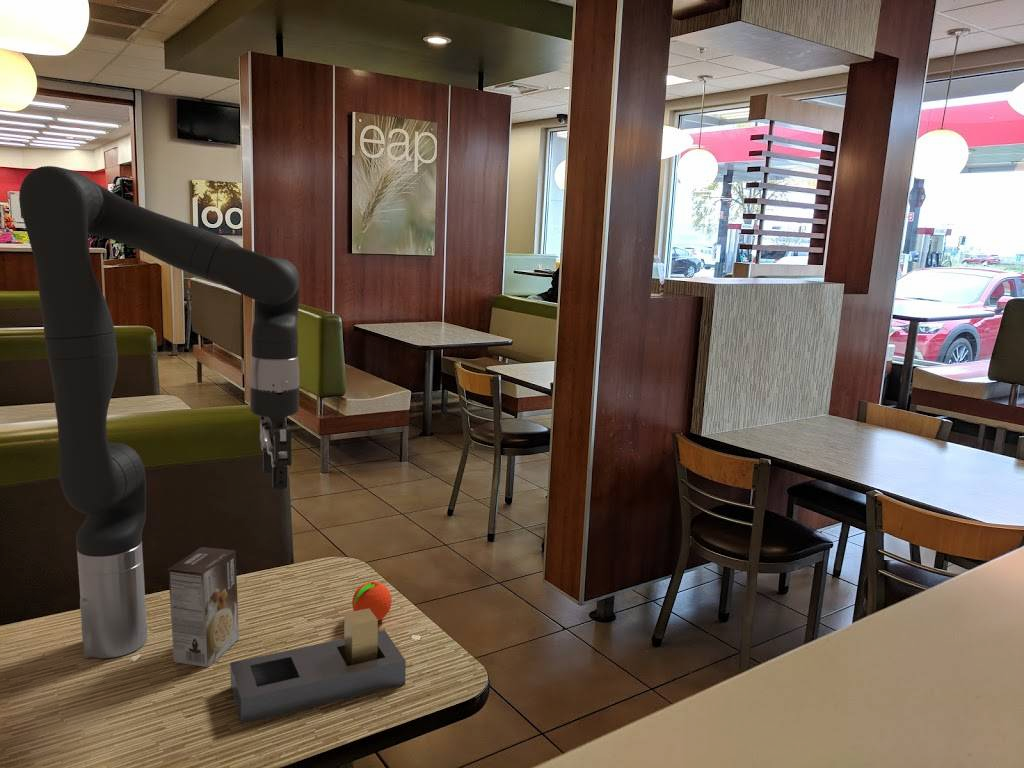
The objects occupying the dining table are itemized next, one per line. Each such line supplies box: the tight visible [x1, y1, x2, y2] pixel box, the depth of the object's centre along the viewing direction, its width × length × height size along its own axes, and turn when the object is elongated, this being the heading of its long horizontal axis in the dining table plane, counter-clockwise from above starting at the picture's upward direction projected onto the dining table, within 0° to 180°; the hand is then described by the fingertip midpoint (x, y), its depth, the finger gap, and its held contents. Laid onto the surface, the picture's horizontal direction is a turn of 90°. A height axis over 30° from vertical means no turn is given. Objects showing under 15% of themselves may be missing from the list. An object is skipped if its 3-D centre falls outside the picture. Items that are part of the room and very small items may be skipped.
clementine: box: [351, 581, 393, 622], centre depth 136 cm, size 8×7×7 cm
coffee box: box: [167, 546, 240, 668], centre depth 124 cm, size 9×6×16 cm
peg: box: [343, 608, 379, 666], centre depth 119 cm, size 4×4×10 cm
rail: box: [229, 629, 407, 725], centre depth 117 cm, size 24×10×4 cm, turn 118°
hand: (274, 480), depth 127 cm, fingers open, 8 cm apart
